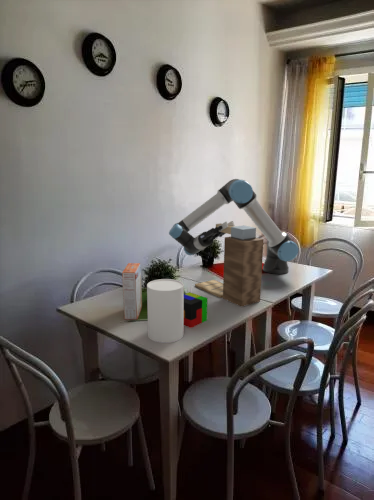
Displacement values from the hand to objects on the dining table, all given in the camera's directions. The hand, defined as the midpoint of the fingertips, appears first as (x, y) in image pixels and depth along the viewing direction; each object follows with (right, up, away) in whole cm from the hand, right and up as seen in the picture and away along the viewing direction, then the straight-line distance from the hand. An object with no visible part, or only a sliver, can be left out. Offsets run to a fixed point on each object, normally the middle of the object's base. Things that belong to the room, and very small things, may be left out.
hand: (230, 223), depth 180 cm
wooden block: (+5, -36, 0) cm, 37 cm away
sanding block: (+1, -6, -1) cm, 6 cm away
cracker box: (-44, -40, -16) cm, 62 cm away
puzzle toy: (-19, -42, -23) cm, 52 cm away
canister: (-29, -45, -35) cm, 64 cm away
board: (-5, -33, +15) cm, 36 cm away
